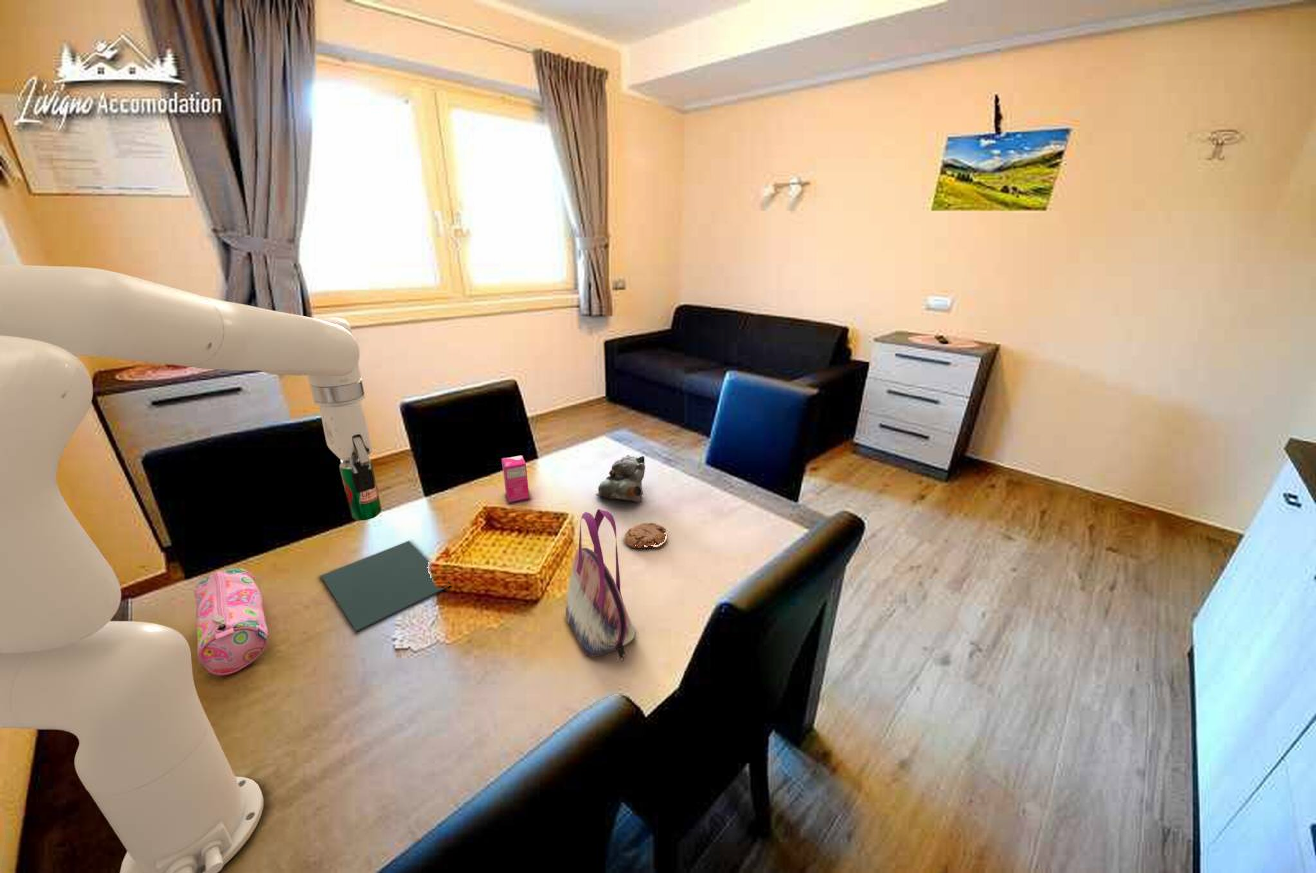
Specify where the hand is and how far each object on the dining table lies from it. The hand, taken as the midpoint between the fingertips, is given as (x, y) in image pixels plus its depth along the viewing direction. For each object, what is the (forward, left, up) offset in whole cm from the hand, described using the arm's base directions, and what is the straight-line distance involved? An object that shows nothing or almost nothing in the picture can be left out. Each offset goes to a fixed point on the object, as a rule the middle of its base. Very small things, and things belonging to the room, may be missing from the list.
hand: (359, 483), depth 90 cm
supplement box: (+14, -40, -25) cm, 49 cm away
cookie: (-26, -51, -25) cm, 62 cm away
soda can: (0, 0, -7) cm, 7 cm away
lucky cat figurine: (-6, -61, -25) cm, 66 cm away
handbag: (-40, -24, -25) cm, 53 cm away
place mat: (+2, -1, -25) cm, 25 cm away
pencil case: (+5, +23, -25) cm, 34 cm away
